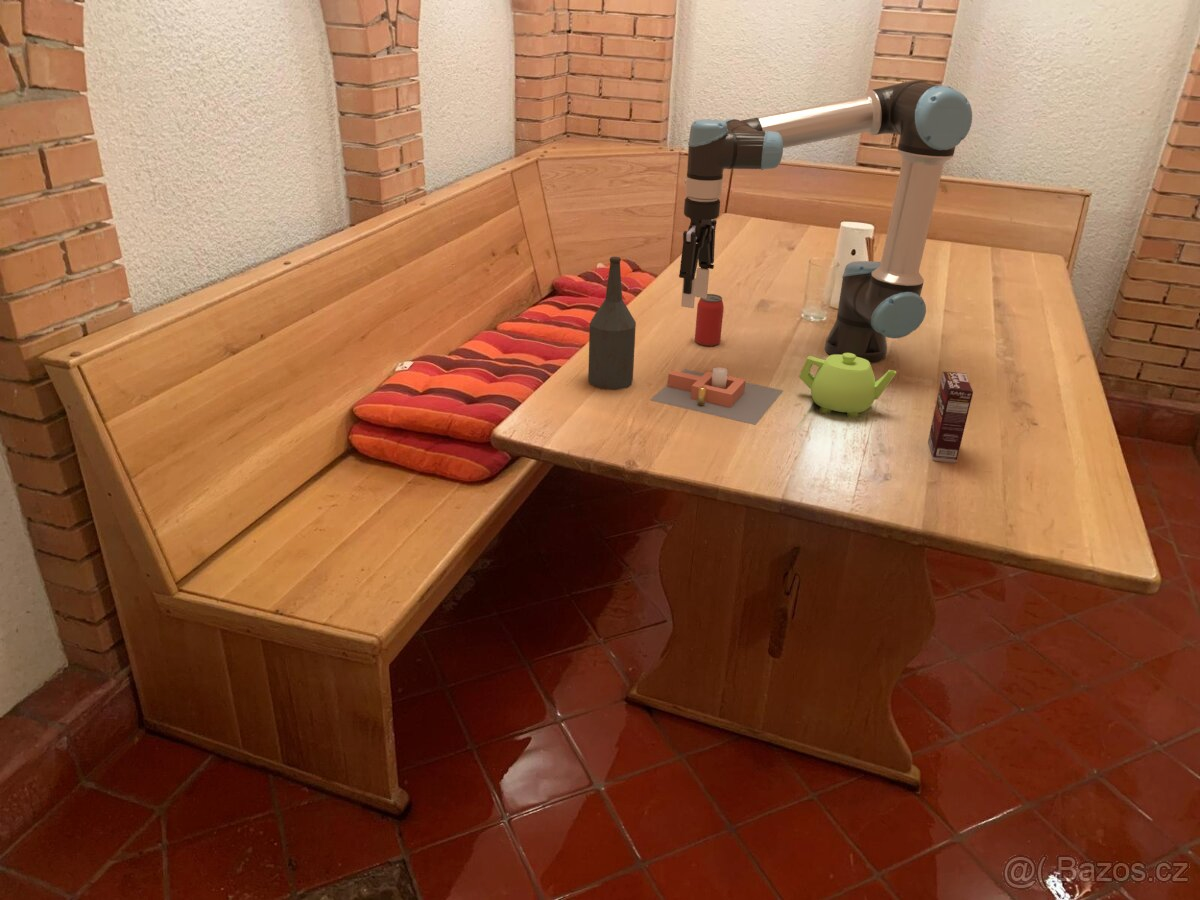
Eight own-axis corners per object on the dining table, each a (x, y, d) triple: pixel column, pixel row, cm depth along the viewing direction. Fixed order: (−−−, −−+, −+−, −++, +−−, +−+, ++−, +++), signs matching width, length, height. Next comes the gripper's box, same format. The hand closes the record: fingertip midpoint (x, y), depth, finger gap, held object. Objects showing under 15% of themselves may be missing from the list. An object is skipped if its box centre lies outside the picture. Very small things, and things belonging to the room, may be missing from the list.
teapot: (889, 403, 203) (900, 350, 198) (885, 428, 192) (896, 373, 186) (800, 389, 209) (807, 337, 203) (791, 412, 198) (798, 358, 192)
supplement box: (926, 441, 187) (942, 370, 180) (950, 444, 186) (967, 373, 179) (931, 461, 180) (948, 387, 172) (957, 464, 179) (975, 390, 171)
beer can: (719, 348, 230) (723, 302, 225) (693, 345, 231) (696, 300, 226) (721, 338, 236) (725, 294, 230) (695, 336, 237) (699, 292, 231)
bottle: (600, 398, 201) (604, 266, 187) (580, 382, 209) (583, 253, 195) (640, 391, 205) (647, 261, 191) (619, 375, 213) (625, 249, 199)
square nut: (744, 392, 203) (745, 379, 201) (730, 407, 195) (731, 394, 194) (677, 377, 209) (678, 365, 208) (661, 391, 202) (662, 379, 200)
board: (782, 396, 205) (786, 365, 201) (754, 431, 189) (758, 398, 185) (684, 374, 214) (686, 345, 211) (649, 406, 198) (651, 374, 195)
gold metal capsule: (705, 404, 196) (707, 387, 195) (703, 407, 195) (704, 390, 193) (698, 402, 197) (700, 385, 195) (696, 405, 196) (697, 388, 194)
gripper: (703, 187, 201) (695, 287, 212) (667, 204, 185) (660, 311, 196) (735, 191, 198) (725, 292, 209) (702, 209, 182) (693, 318, 193)
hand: (694, 301), depth 202 cm, fingers open, 7 cm apart
